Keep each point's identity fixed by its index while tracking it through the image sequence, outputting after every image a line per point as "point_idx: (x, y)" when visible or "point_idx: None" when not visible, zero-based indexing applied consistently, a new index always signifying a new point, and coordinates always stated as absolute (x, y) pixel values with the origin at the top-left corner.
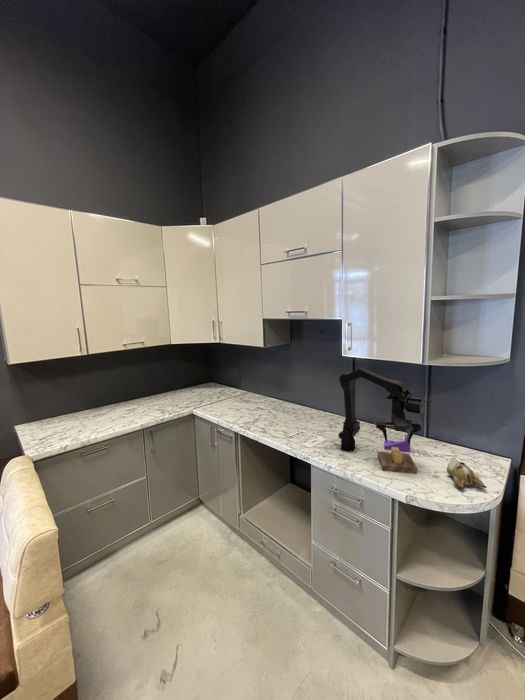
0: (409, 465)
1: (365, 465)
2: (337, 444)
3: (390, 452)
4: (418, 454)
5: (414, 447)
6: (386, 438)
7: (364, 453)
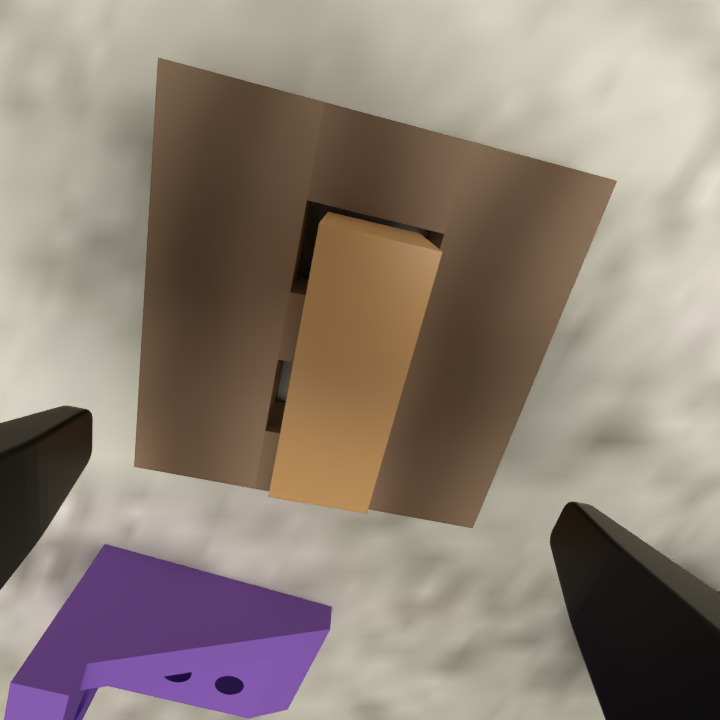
0: (240, 154)
1: (697, 316)
2: None
3: None
4: None
5: (34, 622)
6: (667, 574)
7: None
